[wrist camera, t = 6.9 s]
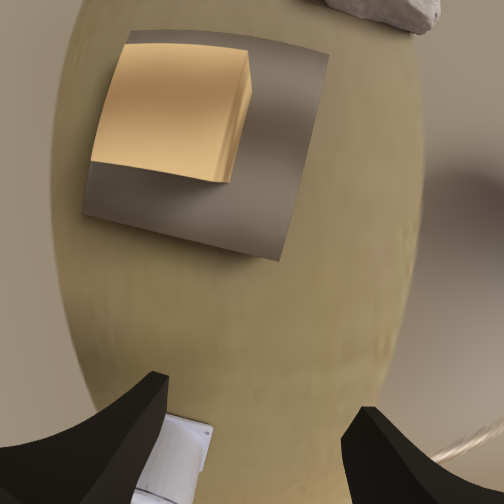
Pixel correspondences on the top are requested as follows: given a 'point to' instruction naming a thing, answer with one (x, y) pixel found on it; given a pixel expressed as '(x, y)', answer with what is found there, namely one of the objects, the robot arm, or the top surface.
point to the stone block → (394, 12)
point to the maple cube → (176, 109)
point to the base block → (245, 165)
